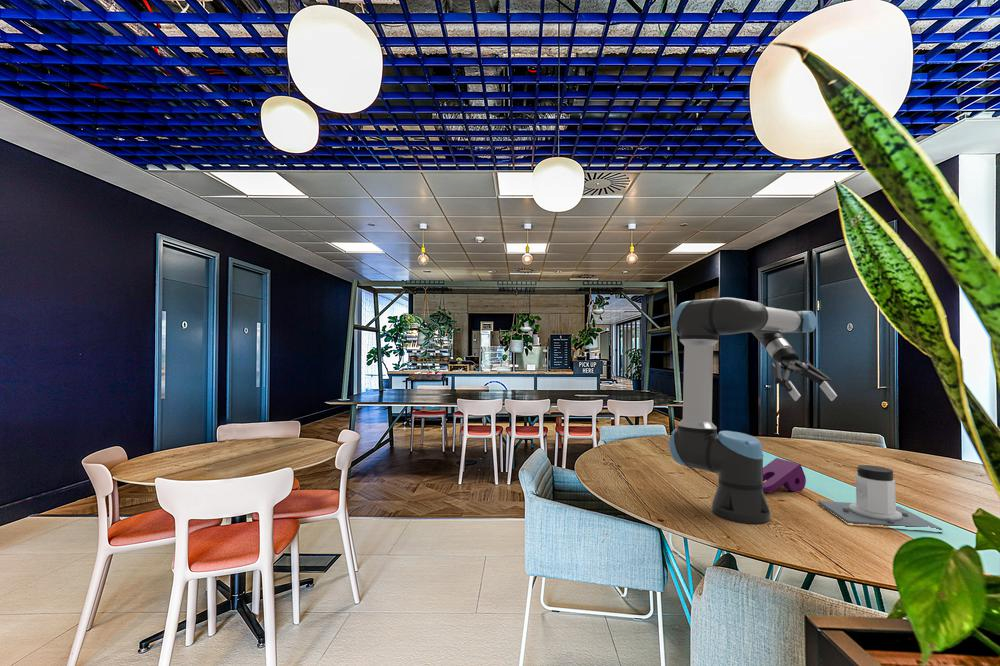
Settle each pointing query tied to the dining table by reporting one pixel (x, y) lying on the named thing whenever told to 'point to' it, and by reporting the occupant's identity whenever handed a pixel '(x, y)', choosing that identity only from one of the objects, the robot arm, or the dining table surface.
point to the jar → (875, 489)
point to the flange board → (875, 516)
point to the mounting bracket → (783, 476)
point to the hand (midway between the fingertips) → (816, 398)
